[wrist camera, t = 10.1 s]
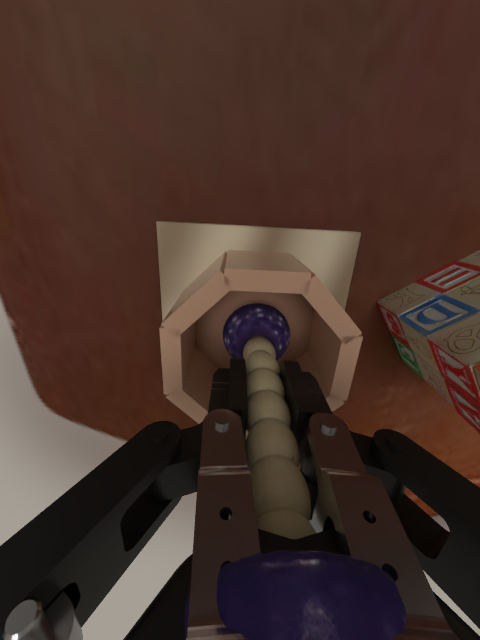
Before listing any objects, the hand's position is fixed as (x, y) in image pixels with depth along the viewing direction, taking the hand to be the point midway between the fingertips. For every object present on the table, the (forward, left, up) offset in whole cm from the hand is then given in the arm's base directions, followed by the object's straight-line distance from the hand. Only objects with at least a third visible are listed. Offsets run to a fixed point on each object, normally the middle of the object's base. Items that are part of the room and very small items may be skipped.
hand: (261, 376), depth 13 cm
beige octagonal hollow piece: (0, 0, -7) cm, 7 cm away
